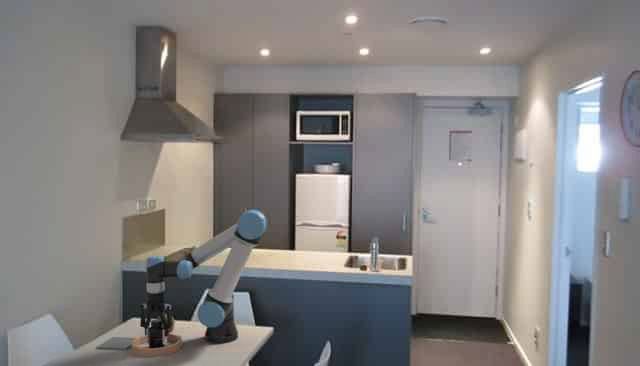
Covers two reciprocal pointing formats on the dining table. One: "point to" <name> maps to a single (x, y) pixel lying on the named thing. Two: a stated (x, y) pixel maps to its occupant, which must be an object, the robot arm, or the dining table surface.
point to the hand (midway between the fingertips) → (156, 342)
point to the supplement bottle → (156, 334)
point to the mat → (117, 343)
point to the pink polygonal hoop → (156, 351)
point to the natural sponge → (172, 326)
